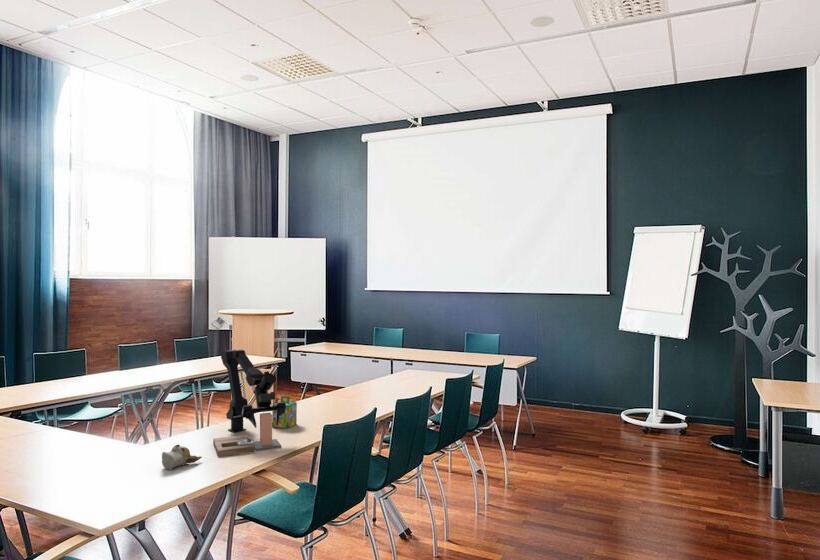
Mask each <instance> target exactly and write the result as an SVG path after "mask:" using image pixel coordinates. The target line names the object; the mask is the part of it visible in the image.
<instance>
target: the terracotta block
mask: <svg viewBox="0 0 820 560" xmlns="http://www.w3.org/2000/svg"><path fill="white" fill-rule="evenodd" d="M272 440H273V427H272V412H261V413H259V441H260V444H261V445H262V446H263V445H271V444H272Z"/></svg>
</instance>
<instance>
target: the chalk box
mask: <svg viewBox="0 0 820 560" xmlns="http://www.w3.org/2000/svg"><path fill="white" fill-rule="evenodd" d="M290 397H291V396H289V395H282V396H281V397H280V401H278V402H276V403H280V402H284V403H285V404H286V409H285V413H284V414H282V415H280V416H279V420H278V425H276V417H275V414H276V412H275V411H271V414H272V428H279V429H287V430H288V429H290V428H292V427H294V426H296V425H297V422H298V421H297V418H298V417H297V414H298V411H297V409H298V407H297V404H298V403H297V402H296V401H290V400H291V398H290ZM284 399H286V400H284ZM276 403H273V404H272V406H276Z"/></svg>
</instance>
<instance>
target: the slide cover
mask: <svg viewBox="0 0 820 560" xmlns="http://www.w3.org/2000/svg"><path fill="white" fill-rule="evenodd" d="M252 440H253V439H252V438H251V437H249V438H247V439H241V440H236V442H237V444H238V446H242V445H250V444H253V442H254V441H252Z"/></svg>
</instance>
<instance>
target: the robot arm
mask: <svg viewBox="0 0 820 560" xmlns="http://www.w3.org/2000/svg"><path fill="white" fill-rule="evenodd" d="M220 358H221V360H222V365H223V366H224V367H225V368H226V369H227V376H228V382H229V389H230V396H231V399H230V403H229V409H228V410H227V412H226V415H225V416H226V419H227V420H230V428H228V431H229V432H231V433H239V432H240V433H241V432H244V431H247V428H244V418H245V419H246V420H249V422H250V423H251V424H252V426H253V427H254V428H255V429H257V421H256V418H255V413H268V412H272V411H275V412H276V414H275V417H276V425H278V420H279V416H280V415H282V414H284V413H285V409H286V404H285V403H284V402H280V401H279V402H280V403H278V402H276V406H273V405H272V400H276V392H275V391H270V390H271V389H272V387H273V385H274V384H275V382H276V381H277V378H276V376H275V375H274V374H273V373H271V372H270V371H263V372H262V371H261V369H259V368H256V367H255V366H254V364H253V363H252V362H251V360H250V359H249V357H248V356H247V354H246V351H245V350H244V349H230V350H223V352H222V353H221V354H220ZM239 366H240V368H241V369H242V371H243V372H244V373H245V380H246V383H247V384H248V386H249V387H254V386H255V387H254V390H253V394H254V395H255V401H256V402H255V403H256V407H253V405H252V404H250V405H249V404H248V399H247V398H245V397H244V396H243V392H242V386H241V380H240V373H239ZM269 391H270V392H269Z"/></svg>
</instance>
